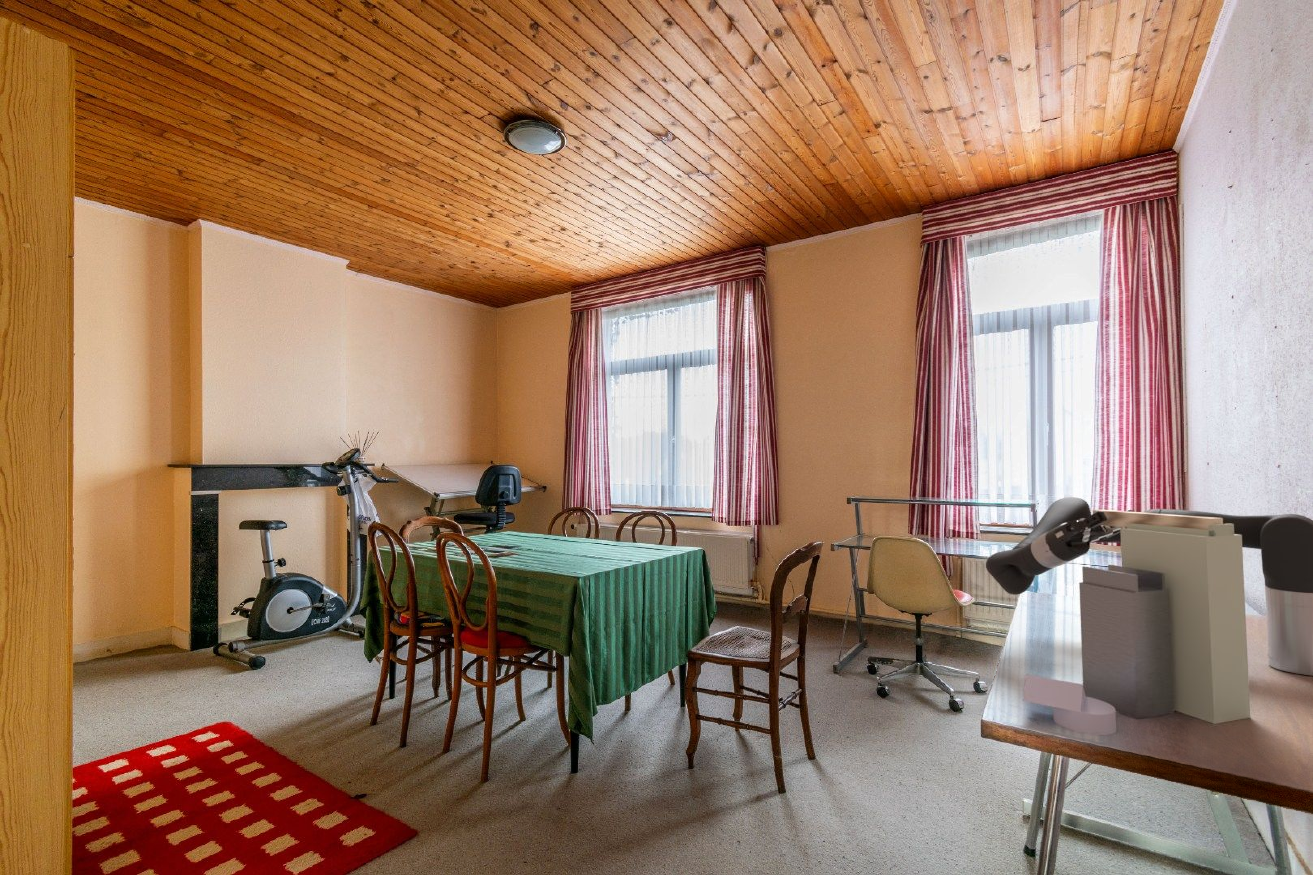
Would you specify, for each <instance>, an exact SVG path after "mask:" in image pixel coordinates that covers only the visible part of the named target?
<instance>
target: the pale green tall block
mask: <svg viewBox="0 0 1313 875" xmlns="http://www.w3.org/2000/svg"><path fill="white" fill-rule="evenodd" d="M1127 527H1128V528H1123V529H1120V532H1121V543H1120V551H1121V552H1120V554H1121V555H1120V556H1121V557H1120V558H1121V566H1122V567H1129V568H1135V569H1141V570H1148V571H1154V572H1161V573H1164V575H1165V589H1169V607H1170V631H1171V654H1172V678H1173V702H1174V711H1176V712H1179V713H1182V714H1184V715H1187V716H1191V717H1193V718H1196V719H1198V720H1202V721H1205V722H1207V723H1211V724H1213V725H1216V724H1221V723H1222V724H1223V723H1227V722H1233V721H1238V720H1245V719H1248V718H1249V719H1250V718H1251V704H1250V703H1251V702H1250V685H1249V684H1250V682H1249V661H1248V658H1249V657H1248V642H1247V641H1248V638H1247V636H1248V635H1247V619H1246V617H1247V616H1246V614H1247V613H1246V597H1245V579H1244V578H1245V575H1244V557H1243V555H1244V554H1243V553H1244V552H1243V547H1242V535H1237V534H1234V524H1212V525H1209V530H1203V529H1191V528H1180V527H1169V526H1157V525H1146V524H1134V523H1127Z"/></svg>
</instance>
